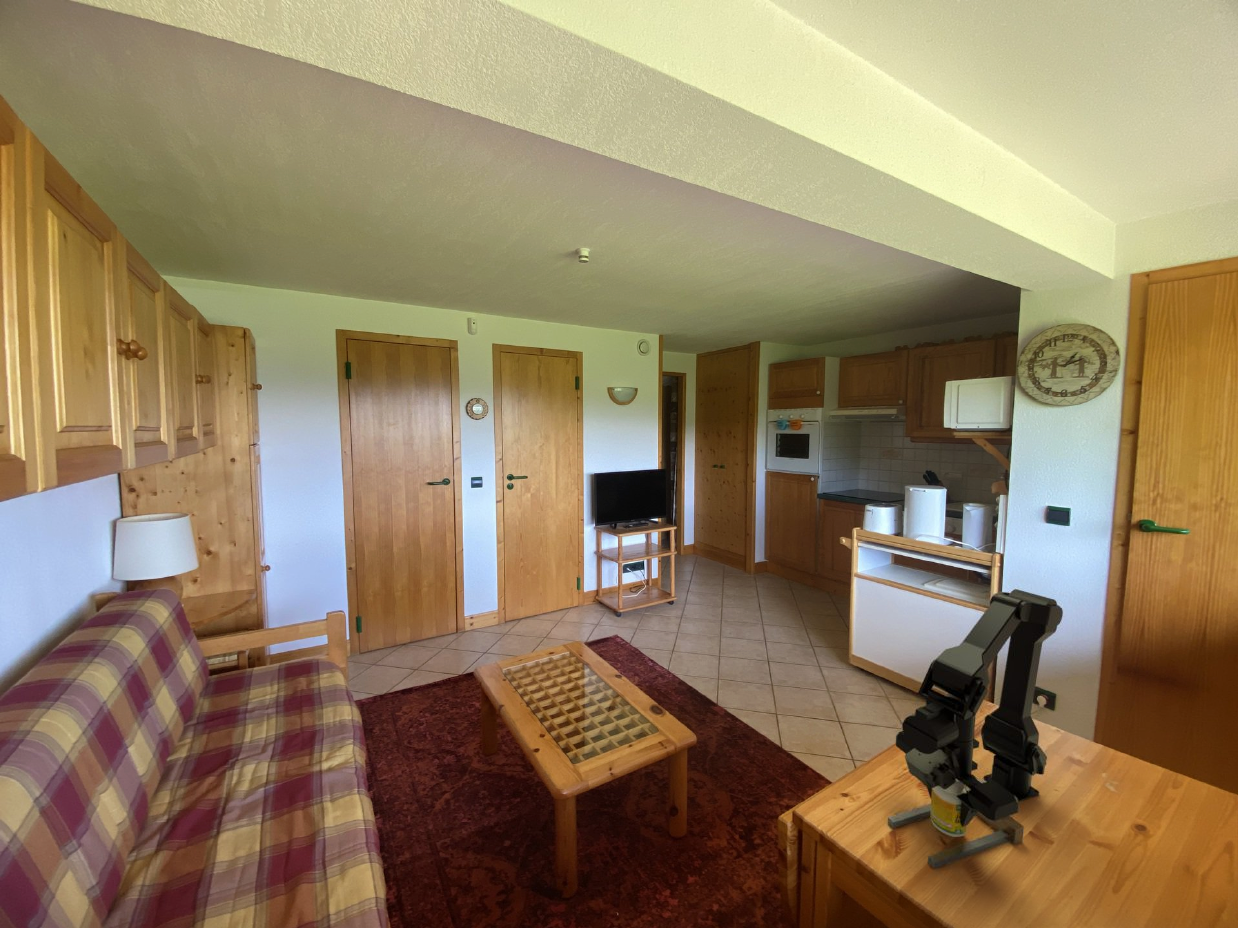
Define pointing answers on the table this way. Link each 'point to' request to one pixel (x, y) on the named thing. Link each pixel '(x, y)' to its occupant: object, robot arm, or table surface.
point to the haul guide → (1005, 833)
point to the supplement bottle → (947, 809)
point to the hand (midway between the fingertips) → (948, 812)
